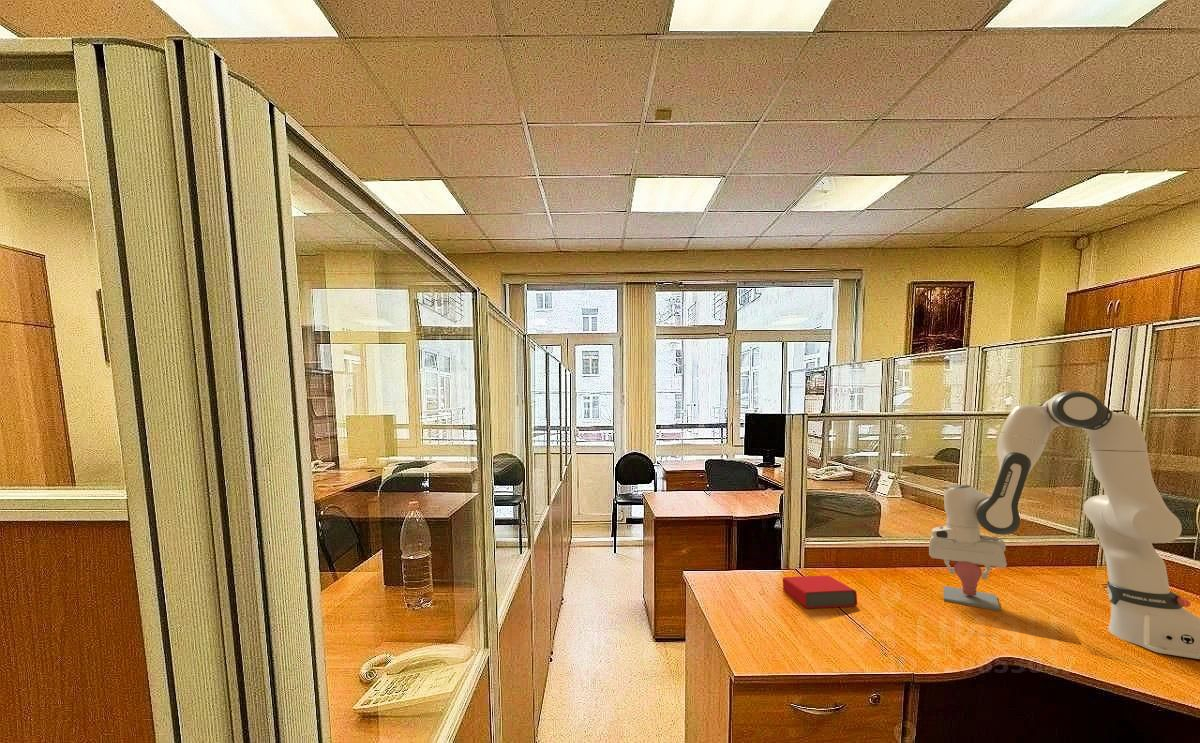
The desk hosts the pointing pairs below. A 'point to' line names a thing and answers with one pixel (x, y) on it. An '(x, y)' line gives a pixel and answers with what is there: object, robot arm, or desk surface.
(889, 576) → the desk surface
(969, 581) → the light bulb
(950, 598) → the mat
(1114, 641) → the desk surface
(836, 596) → the red device housing
